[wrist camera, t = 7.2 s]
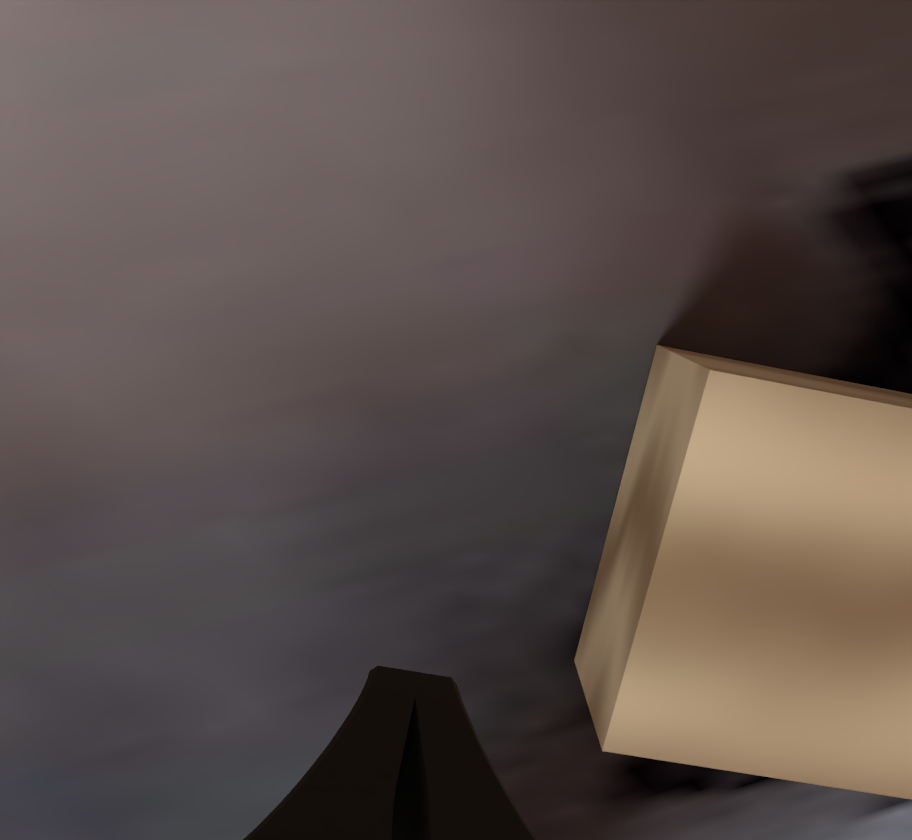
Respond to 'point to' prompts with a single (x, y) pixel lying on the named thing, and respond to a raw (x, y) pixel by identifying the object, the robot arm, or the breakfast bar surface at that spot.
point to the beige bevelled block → (759, 579)
